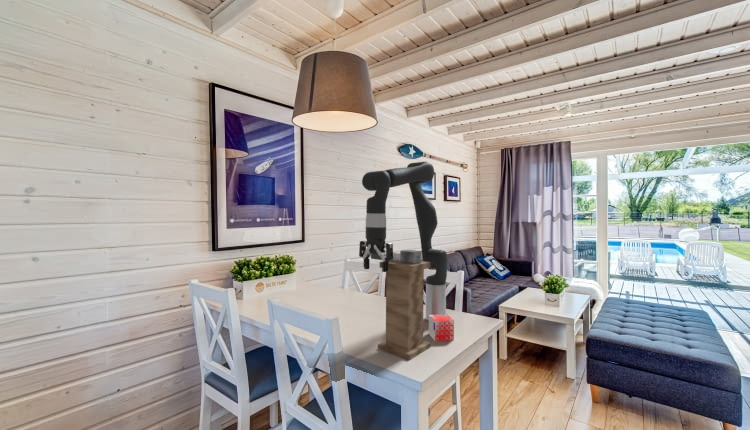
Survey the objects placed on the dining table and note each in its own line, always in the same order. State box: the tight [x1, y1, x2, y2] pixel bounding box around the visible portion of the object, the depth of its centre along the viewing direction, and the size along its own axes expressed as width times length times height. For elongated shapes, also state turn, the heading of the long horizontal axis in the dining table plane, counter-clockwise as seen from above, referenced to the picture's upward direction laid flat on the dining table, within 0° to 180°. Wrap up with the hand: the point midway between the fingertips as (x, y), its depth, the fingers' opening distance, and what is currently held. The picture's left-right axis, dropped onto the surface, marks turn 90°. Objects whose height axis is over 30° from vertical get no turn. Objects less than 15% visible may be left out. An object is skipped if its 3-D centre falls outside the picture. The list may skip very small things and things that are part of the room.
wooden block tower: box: [377, 260, 431, 360], centre depth 119 cm, size 14×14×32 cm
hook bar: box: [370, 249, 422, 264], centre depth 122 cm, size 5×21×4 cm, turn 50°
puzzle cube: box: [428, 313, 455, 342], centre depth 131 cm, size 8×8×8 cm
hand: (375, 270), depth 117 cm, fingers open, 8 cm apart
